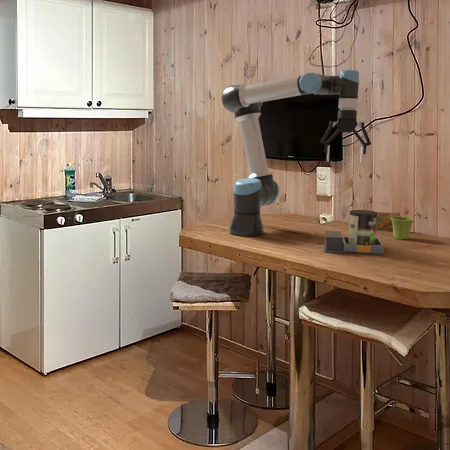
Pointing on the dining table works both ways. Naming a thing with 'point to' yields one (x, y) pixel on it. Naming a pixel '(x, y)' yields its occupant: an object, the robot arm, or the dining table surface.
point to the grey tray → (350, 245)
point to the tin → (385, 221)
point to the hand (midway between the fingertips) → (344, 162)
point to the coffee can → (362, 227)
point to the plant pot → (401, 227)
